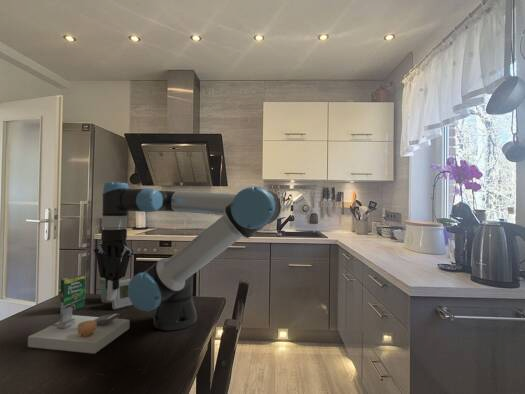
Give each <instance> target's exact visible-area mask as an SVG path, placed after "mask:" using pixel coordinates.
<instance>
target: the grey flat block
mask: <svg viewBox="0 0 525 394" xmlns="http://www.w3.org/2000/svg"><path fill="white" fill-rule="evenodd" d="M119 317H120V313H119V312H117V313H109V314H104V315H103V314H102V315H101V316H99V318H97V319H95V320H94V321H97V324H101V323H108V322H111V321H112V320H114V319H118V318H119Z"/></svg>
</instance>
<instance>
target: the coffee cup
mask: <svg viewBox="0 0 525 394" xmlns="http://www.w3.org/2000/svg"><path fill="white" fill-rule="evenodd" d="M98 280H99V289H100V297H101V298H100V299H101V303H103V304H109V303H111V304H112V301H108V300H107V289H106V280H105V278H101V277H100V276H98ZM119 281H121V278H120V279H119Z"/></svg>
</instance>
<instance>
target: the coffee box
mask: <svg viewBox="0 0 525 394" xmlns="http://www.w3.org/2000/svg"><path fill="white" fill-rule="evenodd" d="M85 305H86V275H84V274H80V275H76V276H72V277H67V278H66V277H65V278H62V279H60V308H59V311H62V310H64V309H66V308H68V307H73V310H72V312H73V311H76V310H77V311H78V310H80V309H83V308H85V307H86V306H85Z"/></svg>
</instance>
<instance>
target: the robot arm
mask: <svg viewBox="0 0 525 394" xmlns="http://www.w3.org/2000/svg"><path fill="white" fill-rule="evenodd" d="M101 194H102V214H101V215H102V216H101V228H103V229H101V233H100V235H101V236H100V237H101V238H100V240H101V241H102V242H101V244H100V246H99V247H98V248H94V249H93V252H94V254H95V256H96V261H97V266H98V272H99V277H101V278H105V280H106V289H107V300H108V301H112V300H113V299H115V298H117V289H118V288H119V279H120V280H121V279H122V278H125V277H126V273H127V270H128V266H129V264H130V263H129V262H130V260H131V256H132V254H133V253H134V249H132V248H131V249H130V248H128V245H127V242H126V241H127V238H128V235H127V234H128V230H127V227H128V214H129V213H128V212H143V213H153V212H172V213H173V212H175V213H177V212H178V213H189V214H190V213H191V214H205V215H217V216H218V215H219V216H221V217H219V218H218V219H217V220H216V221H214V222H213V223H212V224H210V225H209V226H208V227H206V229H204V230H203V231H202V232H200V233H199V234H198V235H197V236H196V237H195V238H193V239H192V240H190V242H188V243H187V244H185V245H183V247H182V248H181V249H179V250H178V251H177V252H176V253H174V254H173V255H172V256H170V257H166V258H161V259H159V260H158V261H157V262H155V263H154V264H153V265H151V266H150V267H149V268H148V269H146V270H144V271H142V272H138V273H137V274H135V275H134V276H133V277H132V279H131V278H130V279H131V280H130V282H129V286H128V289H129V290H128V295H129V298H130V301H131V302H132V304H133V305H134V306H133V307H135V308H136V309H138V310H139V311H142V312H150V311H153V310H155V313H154V316H153V323H152V324H153V326H154V327H155V329H158V330H162V331H177V330H184V329H186V328H188V327H189V328H190V327H191V326H193V325H194V324H195V323H196V322H197V316H198V314H197V310H196V307H195V303H194V300H193V289H194V288H193V287H194V286H193V282H194V274H196V273H197V272H198V271H200V270H201V269H202V268H203V267H204V266H206V265H207V264H208V263H210V262H211V261H212V260H214V259H215V258H217V257H218V256H219V255H220V254H222V253H223V252H224V251H226V250H227V249H228V248H229V247H231V246H232V245H233V244H235V243H236V242H238V240H240V239H241V238H243V239H250V238H251V237H252V236H254V235H255V234H256V233H257V232H258V231H260V230H261V229H262V228H264V227H265V226H267V225H270V224H271V223H273V222H274V221H276V220H277V219H278V218H279V216H280V214H281V210H282V205H281V200H280V199H279V196H278V195H276V194H275V192H273V191H271V190H269V189H266V188H263V187H261V186H250V187H249V186H248V187H245V188H244V189H241V190H240V191H238V192H237V193H236V194H233V193H211V192H207V193H206V192H195V191H194V192H193V191H191V192H189V191H173V190H158V189H153V188H129V184H128V183H126V182H117V181H115V182H113V181H109V182H108V181H107V182H105V183H104V184H103V191H102V193H101Z"/></svg>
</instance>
